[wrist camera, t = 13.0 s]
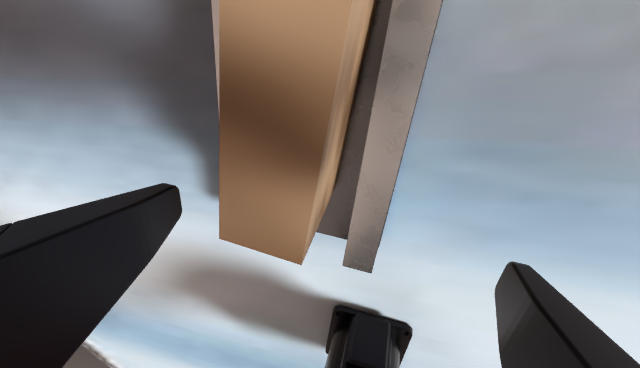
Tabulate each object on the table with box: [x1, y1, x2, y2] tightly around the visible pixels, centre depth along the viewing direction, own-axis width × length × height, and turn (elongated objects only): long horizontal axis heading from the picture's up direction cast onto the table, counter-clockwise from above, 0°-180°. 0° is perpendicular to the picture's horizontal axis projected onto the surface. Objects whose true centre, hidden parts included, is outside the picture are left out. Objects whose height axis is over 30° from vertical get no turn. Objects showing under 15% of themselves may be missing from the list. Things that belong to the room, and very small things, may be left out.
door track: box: [211, 0, 443, 273], centre depth 16 cm, size 22×10×4 cm, turn 174°
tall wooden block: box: [219, 0, 378, 265], centre depth 14 cm, size 14×4×7 cm, turn 170°
